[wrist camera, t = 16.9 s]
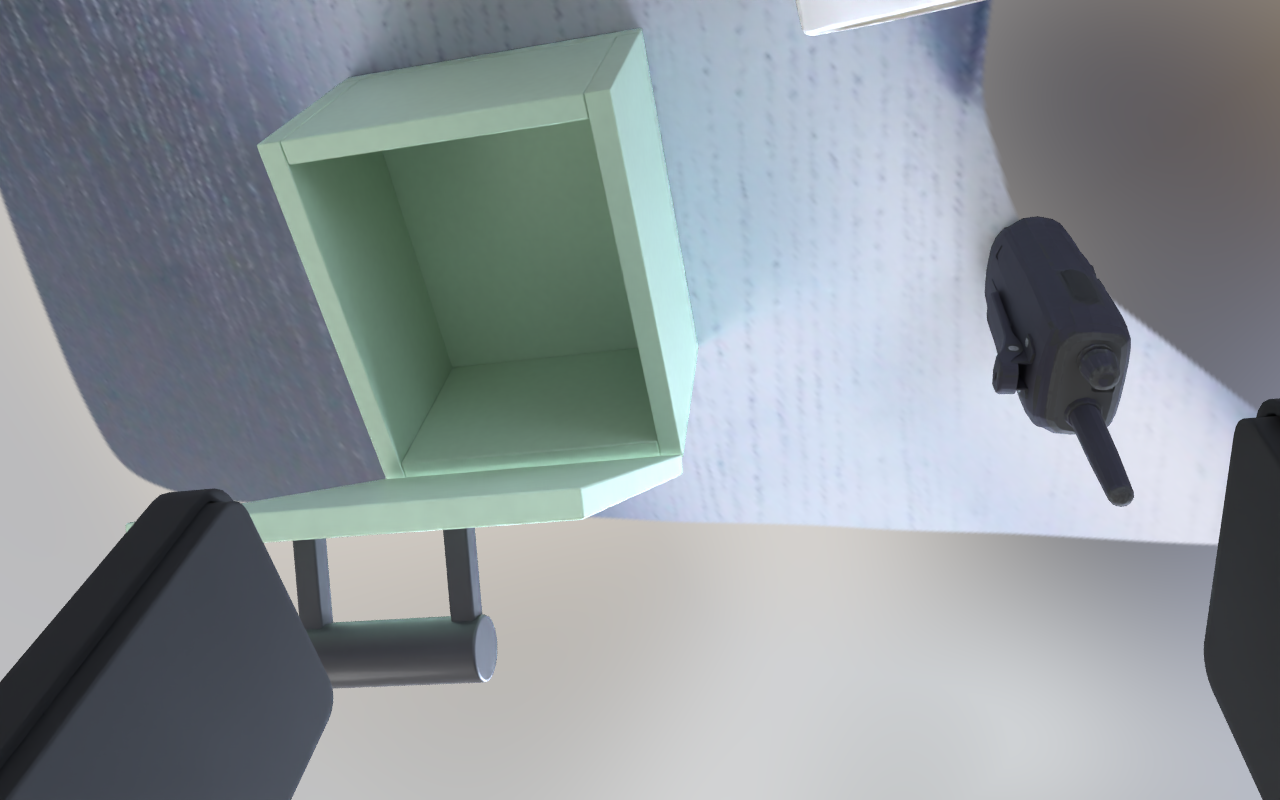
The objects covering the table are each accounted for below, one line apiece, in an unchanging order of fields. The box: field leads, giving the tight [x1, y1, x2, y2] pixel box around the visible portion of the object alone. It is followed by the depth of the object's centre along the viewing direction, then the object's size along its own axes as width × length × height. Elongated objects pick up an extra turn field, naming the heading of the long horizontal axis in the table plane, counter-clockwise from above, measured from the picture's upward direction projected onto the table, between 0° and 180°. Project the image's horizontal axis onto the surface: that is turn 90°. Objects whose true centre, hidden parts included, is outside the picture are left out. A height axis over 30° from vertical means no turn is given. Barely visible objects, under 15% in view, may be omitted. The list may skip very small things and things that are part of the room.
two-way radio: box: [985, 216, 1134, 507], centre depth 38 cm, size 6×4×15 cm
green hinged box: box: [257, 28, 698, 479], centre depth 42 cm, size 15×13×9 cm
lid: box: [126, 455, 683, 688], centre depth 34 cm, size 16×13×5 cm
